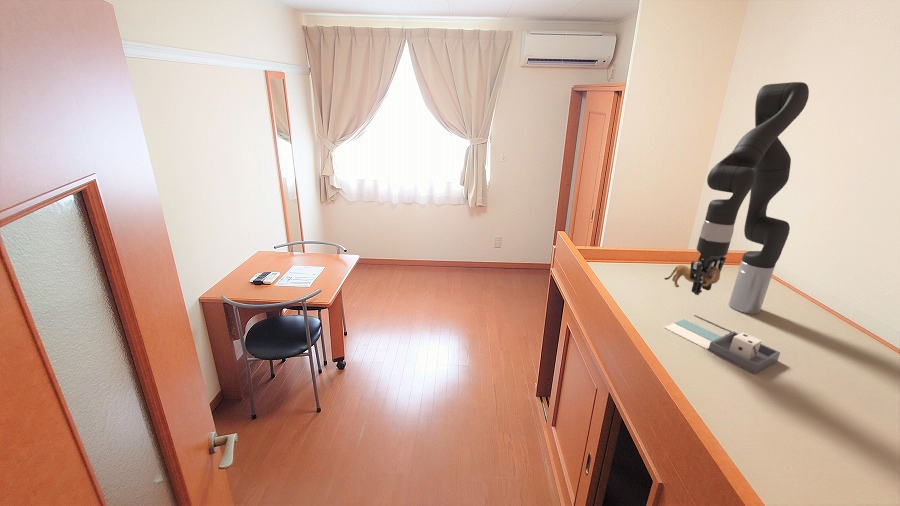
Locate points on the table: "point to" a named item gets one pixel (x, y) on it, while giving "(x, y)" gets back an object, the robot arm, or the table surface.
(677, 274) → the lion figurine
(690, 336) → the track
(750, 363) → the dice tray
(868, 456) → the table surface
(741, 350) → the die
